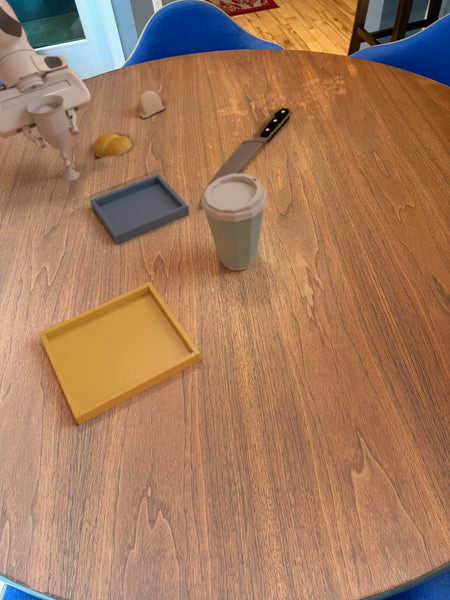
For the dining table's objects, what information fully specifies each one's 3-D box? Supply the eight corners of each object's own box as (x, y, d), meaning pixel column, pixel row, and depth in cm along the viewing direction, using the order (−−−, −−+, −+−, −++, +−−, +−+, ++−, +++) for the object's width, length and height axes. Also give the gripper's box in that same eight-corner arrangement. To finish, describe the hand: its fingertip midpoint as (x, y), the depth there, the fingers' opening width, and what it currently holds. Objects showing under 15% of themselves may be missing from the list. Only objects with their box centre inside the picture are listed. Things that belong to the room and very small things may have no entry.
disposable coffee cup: (228, 288, 82) (222, 219, 70) (197, 253, 88) (186, 185, 77) (278, 262, 85) (280, 193, 74) (245, 230, 91) (242, 162, 80)
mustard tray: (79, 425, 67) (75, 418, 65) (42, 340, 77) (38, 332, 75) (201, 360, 72) (200, 352, 71) (152, 289, 83) (150, 281, 81)
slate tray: (117, 244, 91) (115, 236, 90) (92, 208, 99) (89, 200, 98) (189, 214, 96) (188, 206, 94) (159, 181, 104) (158, 173, 102)
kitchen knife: (184, 209, 98) (181, 199, 96) (272, 114, 120) (271, 106, 118) (206, 213, 96) (203, 204, 94) (292, 116, 117) (291, 107, 116)
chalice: (73, 195, 102) (43, 116, 89) (51, 186, 105) (19, 108, 91) (96, 178, 106) (71, 99, 93) (74, 169, 109) (47, 92, 95)
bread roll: (120, 165, 109) (115, 149, 106) (89, 157, 112) (84, 141, 109) (140, 147, 113) (137, 131, 110) (110, 139, 117) (106, 124, 114)
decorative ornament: (135, 114, 124) (131, 94, 120) (162, 102, 127) (158, 82, 123) (144, 119, 122) (139, 99, 118) (170, 108, 125) (167, 87, 121)
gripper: (-30, 86, 89) (9, 154, 91) (71, 53, 96) (105, 117, 98) (-26, 101, 95) (11, 165, 97) (69, 69, 102) (101, 129, 104)
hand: (59, 140), depth 97 cm, fingers closed on chalice, 6 cm apart
